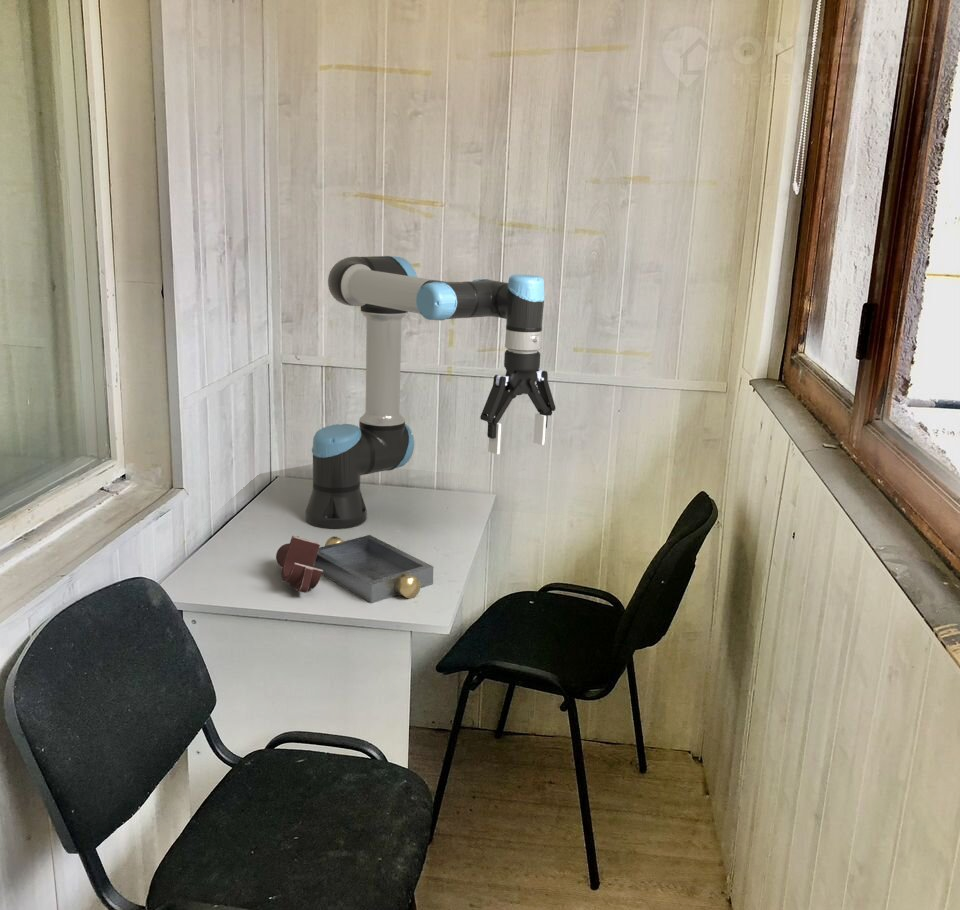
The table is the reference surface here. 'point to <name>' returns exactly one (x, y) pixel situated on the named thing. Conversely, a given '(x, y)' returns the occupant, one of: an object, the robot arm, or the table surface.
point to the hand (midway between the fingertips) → (516, 448)
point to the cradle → (372, 568)
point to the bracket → (299, 563)
